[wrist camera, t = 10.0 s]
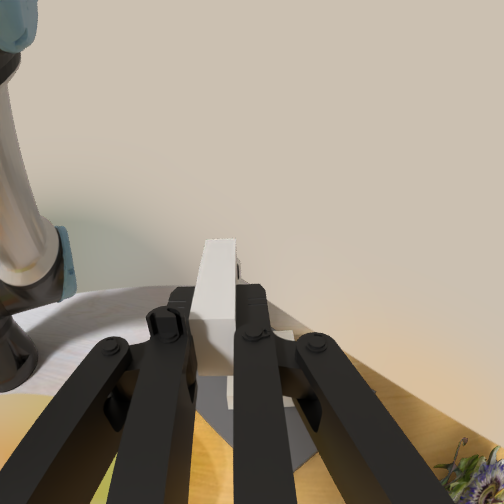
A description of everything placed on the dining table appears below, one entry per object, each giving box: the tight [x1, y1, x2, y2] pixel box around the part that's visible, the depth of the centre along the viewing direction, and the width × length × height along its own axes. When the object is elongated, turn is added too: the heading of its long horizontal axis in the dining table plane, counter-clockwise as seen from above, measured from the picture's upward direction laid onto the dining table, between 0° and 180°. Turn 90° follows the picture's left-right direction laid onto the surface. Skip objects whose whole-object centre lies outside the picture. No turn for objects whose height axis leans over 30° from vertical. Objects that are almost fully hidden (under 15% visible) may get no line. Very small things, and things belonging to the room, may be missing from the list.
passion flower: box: [434, 438, 504, 504], centre depth 20 cm, size 11×11×12 cm
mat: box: [196, 327, 376, 473], centre depth 43 cm, size 26×20×1 cm
